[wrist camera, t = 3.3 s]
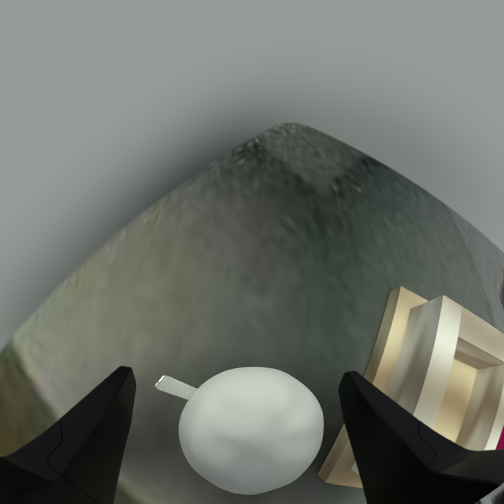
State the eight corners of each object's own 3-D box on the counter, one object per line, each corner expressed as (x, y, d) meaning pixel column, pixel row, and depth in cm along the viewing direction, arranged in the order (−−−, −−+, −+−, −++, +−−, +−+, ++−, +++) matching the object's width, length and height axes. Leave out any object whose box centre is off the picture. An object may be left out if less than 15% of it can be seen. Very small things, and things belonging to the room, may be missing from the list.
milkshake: (218, 341, 16) (217, 309, 6) (289, 392, 15) (378, 421, 6) (172, 397, 14) (108, 438, 5) (244, 448, 13) (278, 539, 4)
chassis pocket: (443, 485, 11) (480, 495, 7) (317, 474, 12) (349, 504, 8) (487, 346, 17) (525, 335, 12) (389, 292, 18) (432, 268, 14)
